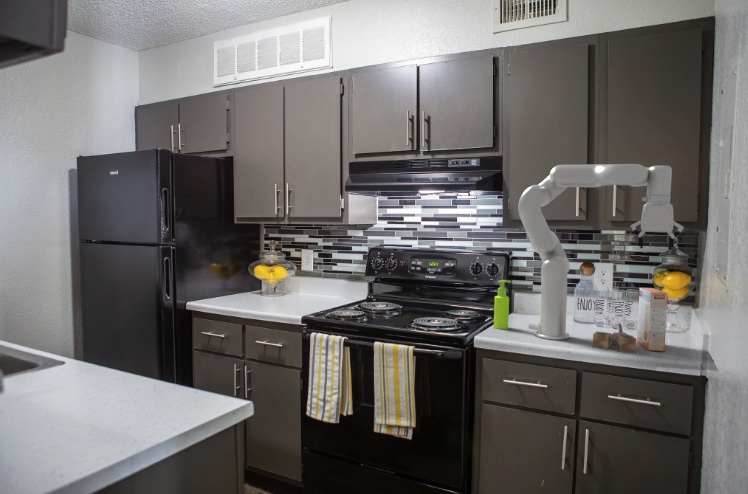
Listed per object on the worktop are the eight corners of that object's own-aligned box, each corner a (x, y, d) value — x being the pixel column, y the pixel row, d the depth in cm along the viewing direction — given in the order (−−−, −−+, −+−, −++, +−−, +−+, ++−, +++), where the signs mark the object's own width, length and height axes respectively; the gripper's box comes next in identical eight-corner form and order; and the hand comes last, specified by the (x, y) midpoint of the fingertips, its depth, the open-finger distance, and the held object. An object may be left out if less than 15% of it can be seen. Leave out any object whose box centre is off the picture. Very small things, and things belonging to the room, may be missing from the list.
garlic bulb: (611, 346, 195) (612, 324, 195) (606, 341, 203) (607, 320, 202) (633, 347, 194) (634, 325, 193) (628, 342, 201) (629, 321, 200)
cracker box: (665, 352, 187) (668, 292, 186) (647, 351, 189) (650, 292, 187) (653, 342, 201) (656, 287, 200) (636, 341, 202) (638, 287, 201)
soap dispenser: (512, 329, 222) (514, 281, 221) (496, 329, 221) (498, 281, 220) (507, 326, 228) (508, 279, 227) (491, 326, 227) (492, 279, 226)
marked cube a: (620, 351, 187) (621, 337, 187) (616, 348, 192) (617, 333, 192) (635, 352, 186) (636, 337, 186) (631, 349, 191) (632, 334, 191)
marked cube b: (592, 347, 193) (593, 333, 193) (595, 344, 197) (596, 330, 197) (607, 349, 190) (608, 335, 190) (610, 347, 194) (611, 332, 194)
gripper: (631, 199, 192) (628, 248, 193) (687, 200, 184) (684, 250, 186) (631, 200, 199) (628, 247, 200) (684, 201, 191) (682, 249, 192)
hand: (655, 248), depth 193 cm, fingers open, 8 cm apart
